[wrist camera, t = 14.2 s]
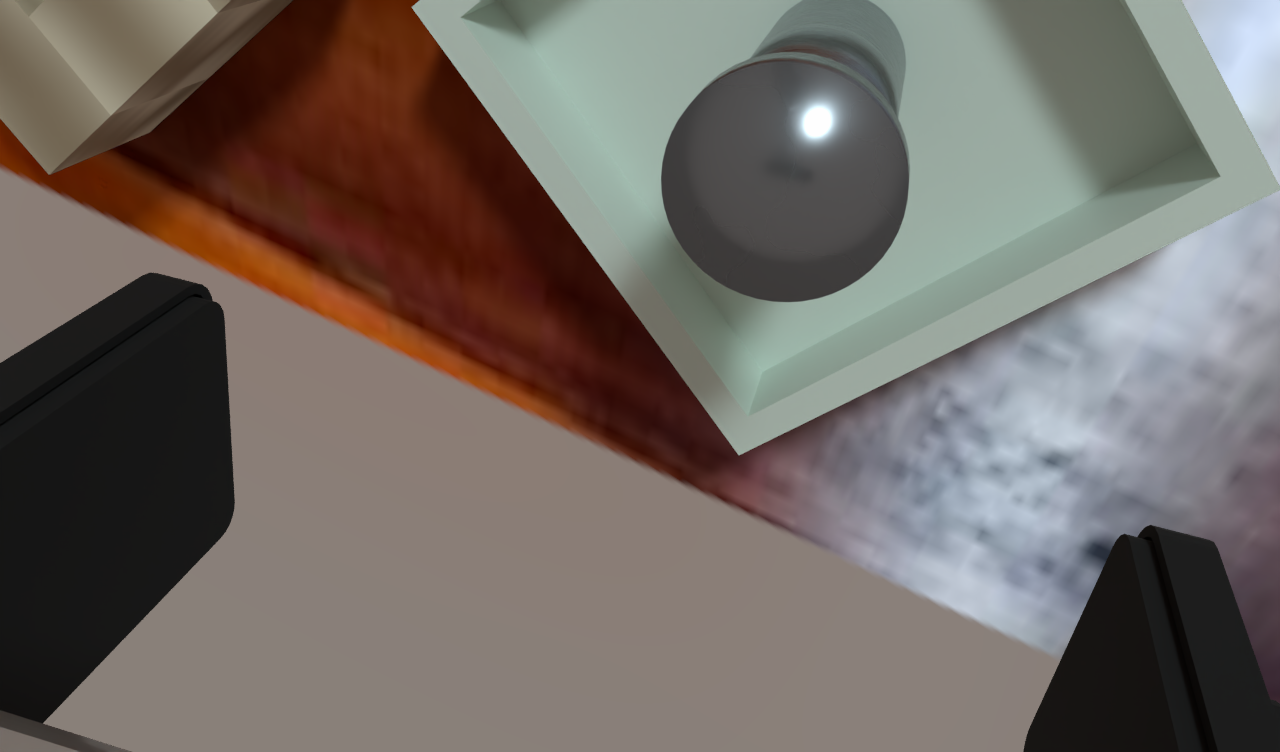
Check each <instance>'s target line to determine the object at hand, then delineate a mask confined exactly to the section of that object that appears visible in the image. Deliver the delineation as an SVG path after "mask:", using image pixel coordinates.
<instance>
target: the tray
mask: <svg viewBox="0 0 1280 752" xmlns="http://www.w3.org/2000/svg"><path fill="white" fill-rule="evenodd" d="M801 1H803V0H420V1H418V2H417V3H416V4H415V5H414V6H413V7H412V8H413V10H414V11H415V13H416V14H417V15H418V17H419V18H420V19H421V21H422V22H423V24H424V25H425V26H426V28H427V29H428V30H429V32H430V33H431V34H432V36H433V37H434V39H435V40H436V41H437V43H438V44H439V45H440V47H441V48H442V50H443V51H444V52H445V54H446V55H447V56H448V58H449V59H450V61H451V62H452V63H453V65H454V66H455V67H456V69H457V70H458V71H459V73H460V74H461V76H462V77H463V78H464V80H465V81H466V82H467V84H468V85H469V87H470V88H471V89H472V91H473V92H474V93H475V95H476V96H477V98H478V99H479V100H480V102H481V103H482V104H483V106H484V107H485V108H486V110H487V111H488V113H489V114H490V115H491V117H492V118H493V119H494V121H495V122H496V124H497V125H498V126H499V128H500V129H501V130H502V132H503V133H504V134H505V136H506V137H507V139H508V140H509V141H510V143H511V144H512V145H513V147H514V148H515V150H516V151H517V152H518V154H519V155H520V156H521V158H522V159H523V161H524V162H525V163H526V165H527V166H528V167H529V169H530V170H531V171H532V173H533V174H534V176H535V177H536V178H537V180H538V181H539V182H540V184H541V185H542V187H543V188H544V189H545V191H546V192H547V193H548V195H549V196H550V198H551V199H552V200H553V202H554V203H555V204H556V206H557V207H558V208H559V210H560V211H561V213H562V214H563V215H564V217H565V218H566V219H567V221H568V222H569V224H570V225H571V226H572V228H573V229H574V230H575V232H576V233H577V234H578V236H579V237H580V239H581V240H582V241H583V243H584V244H585V245H586V247H587V248H588V250H589V251H590V252H591V254H592V255H593V256H594V258H595V259H596V261H597V262H598V263H599V265H600V266H601V267H602V269H603V270H604V271H605V273H606V274H607V276H608V277H609V278H610V280H611V281H612V282H613V284H614V285H615V287H616V288H617V289H618V291H619V292H620V293H621V295H622V296H623V297H624V299H625V300H626V302H627V303H628V304H629V306H630V307H631V308H632V310H633V311H634V313H635V314H636V315H637V317H638V318H639V319H640V321H641V322H642V324H643V325H644V326H645V328H646V329H647V330H648V332H649V333H650V334H651V336H652V337H653V339H654V340H655V341H656V343H657V344H658V345H659V347H660V348H661V350H662V351H663V352H664V354H665V355H666V356H667V358H668V359H669V361H670V362H671V363H672V365H673V366H674V367H675V369H676V370H677V371H678V373H679V374H680V376H681V377H682V378H683V380H684V381H685V382H686V384H687V385H688V387H689V388H690V389H691V391H692V392H693V393H694V395H695V396H696V397H697V399H698V400H699V402H700V403H701V404H702V406H703V407H704V408H705V410H706V411H707V413H708V414H709V415H710V417H711V418H712V419H713V421H714V422H715V424H716V425H717V426H718V428H719V429H720V430H721V432H722V433H723V434H724V436H725V437H726V439H727V440H728V441H729V443H730V444H731V445H732V447H733V448H734V450H735V451H736V452H737V454H738V455H741V454H743V453H745V452H747V451H749V450H751V449H753V448H755V447H757V446H759V445H761V444H763V443H765V442H767V441H769V440H771V439H773V438H775V437H777V436H780V435H782V434H784V433H786V432H788V431H790V430H792V429H794V428H796V427H798V426H800V425H802V424H804V423H806V422H808V421H810V420H812V419H814V418H816V417H818V416H820V415H822V414H824V413H826V412H828V411H830V410H833V409H835V408H837V407H839V406H841V405H843V404H845V403H847V402H849V401H851V400H853V399H855V398H857V397H859V396H861V395H863V394H865V393H867V392H869V391H871V390H873V389H875V388H877V387H879V386H881V385H883V384H885V383H888V382H890V381H892V380H894V379H896V378H898V377H900V376H902V375H904V374H906V373H908V372H910V371H912V370H914V369H916V368H918V367H920V366H922V365H924V364H926V363H928V362H930V361H932V360H934V359H936V358H938V357H941V356H943V355H945V354H947V353H949V352H951V351H953V350H955V349H957V348H959V347H961V346H963V345H965V344H967V343H969V342H971V341H973V340H975V339H977V338H979V337H981V336H983V335H985V334H987V333H989V332H991V331H993V330H996V329H998V328H1000V327H1002V326H1004V325H1006V324H1008V323H1010V322H1012V321H1014V320H1016V319H1018V318H1020V317H1022V316H1024V315H1026V314H1028V313H1030V312H1032V311H1034V310H1036V309H1038V308H1040V307H1042V306H1044V305H1046V304H1048V303H1051V302H1053V301H1055V300H1057V299H1059V298H1061V297H1063V296H1065V295H1067V294H1069V293H1071V292H1073V291H1075V290H1077V289H1079V288H1081V287H1083V286H1085V285H1087V284H1089V283H1091V282H1093V281H1095V280H1097V279H1099V278H1101V277H1104V276H1106V275H1108V274H1110V273H1112V272H1114V271H1116V270H1118V269H1120V268H1122V267H1124V266H1126V265H1128V264H1130V263H1132V262H1134V261H1136V260H1138V259H1140V258H1142V257H1144V256H1146V255H1148V254H1150V253H1152V252H1154V251H1156V250H1159V249H1161V248H1163V247H1165V246H1167V245H1169V244H1171V243H1173V242H1175V241H1177V240H1179V239H1181V238H1183V237H1185V236H1187V235H1189V234H1191V233H1193V232H1195V231H1197V230H1199V229H1201V228H1203V227H1205V226H1207V225H1209V224H1212V223H1214V222H1216V221H1218V220H1220V219H1222V218H1224V217H1226V216H1228V215H1230V214H1232V213H1234V212H1236V211H1238V210H1240V209H1242V208H1244V207H1246V206H1248V205H1250V204H1252V203H1254V202H1256V201H1258V200H1260V199H1262V198H1264V197H1267V196H1269V195H1271V194H1273V193H1275V192H1277V191H1279V190H1280V186H1279V184H1278V182H1277V180H1276V179H1275V177H1274V175H1273V173H1272V171H1271V169H1270V167H1269V165H1268V163H1267V161H1266V160H1265V158H1264V156H1263V154H1262V152H1261V150H1260V148H1259V146H1258V144H1257V142H1256V141H1255V139H1254V137H1253V135H1252V133H1251V131H1250V129H1249V127H1248V125H1247V124H1246V122H1245V120H1244V118H1243V116H1242V114H1241V112H1240V110H1239V108H1238V106H1237V105H1236V103H1235V101H1234V99H1233V97H1232V95H1231V93H1230V91H1229V89H1228V87H1227V86H1226V84H1225V82H1224V80H1223V78H1222V76H1221V74H1220V72H1219V70H1218V69H1217V67H1216V65H1215V63H1214V61H1213V59H1212V57H1211V55H1210V53H1209V51H1208V50H1207V48H1206V46H1205V44H1204V42H1203V40H1202V38H1201V36H1200V34H1199V32H1198V31H1197V29H1196V27H1195V25H1194V23H1193V21H1192V19H1191V17H1190V15H1189V14H1188V12H1187V10H1186V8H1185V6H1184V4H1183V2H1182V0H869V1H870V2H872V3H874V4H875V5H877V6H878V7H879V8H880V9H882V10H883V11H884V12H885V13H886V14H887V15H888V16H889V17H890V19H891V20H892V21H893V23H894V24H895V26H896V27H897V29H898V31H899V33H900V36H901V38H902V41H903V44H904V49H905V56H906V71H905V78H904V85H903V91H902V98H901V104H900V111H899V117H898V119H899V121H900V123H901V126H902V129H903V132H904V134H905V137H906V141H907V146H908V151H909V160H910V178H909V190H908V200H907V205H906V210H905V215H904V218H903V221H902V224H901V226H900V229H899V232H898V234H897V235H896V237H895V239H894V241H893V243H892V245H891V246H890V248H889V249H888V251H887V252H886V254H885V255H884V256H883V258H882V259H881V260H880V261H879V262H878V263H877V264H876V265H875V266H874V267H873V269H871V270H870V271H869V272H868V273H867V274H865V275H864V276H863V277H862V278H861V279H859V280H858V281H856V282H854V283H853V284H851V285H850V286H848V287H846V288H844V289H842V290H840V291H838V292H836V293H833V294H831V295H827V296H824V297H821V298H818V299H813V300H808V301H801V302H772V301H766V300H761V299H756V298H753V297H749V296H746V295H743V294H740V293H738V292H736V291H733V290H731V289H729V288H727V287H725V286H724V285H722V284H720V283H719V282H717V281H715V280H714V279H713V278H711V277H710V276H709V275H707V274H706V273H705V272H703V271H702V270H701V269H700V268H699V267H698V266H697V265H696V264H695V263H694V262H693V261H692V260H691V258H690V257H689V256H688V255H687V253H686V252H685V251H684V250H683V248H682V247H681V245H680V243H679V242H678V240H677V239H676V237H675V235H674V233H673V231H672V229H671V226H670V224H669V222H668V219H667V215H666V212H665V209H664V204H663V198H662V191H661V172H662V162H663V157H664V153H665V149H666V145H667V143H668V140H669V137H670V135H671V132H672V130H673V129H674V127H675V125H676V123H677V121H678V119H679V118H680V117H681V115H682V114H683V112H684V111H685V110H686V108H687V107H688V106H689V104H690V103H691V102H692V101H693V100H694V98H695V97H696V96H697V95H698V94H699V93H700V92H701V90H702V89H703V88H704V87H705V86H706V85H707V84H708V83H709V82H710V81H712V80H713V79H714V78H716V77H717V76H718V75H719V74H721V73H722V72H724V71H725V70H727V69H729V68H730V67H732V66H734V65H736V64H738V63H740V62H743V61H745V60H748V59H750V58H751V56H752V55H753V53H754V52H755V51H756V49H757V48H758V47H759V45H760V44H761V43H762V41H763V40H764V39H765V37H766V36H767V35H768V33H769V32H770V31H771V29H772V28H773V27H774V25H775V24H776V23H777V21H778V20H779V19H780V18H781V17H782V16H783V15H784V14H785V12H787V11H788V10H789V9H790V8H792V7H793V6H794V5H796V4H797V3H799V2H801Z"/></svg>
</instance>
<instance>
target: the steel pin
mask: <svg viewBox="0 0 1280 752" xmlns="http://www.w3.org/2000/svg"><path fill="white" fill-rule="evenodd" d="M905 71H906V56H905V49H904V44H903V41H902V38H901V36H900V33H899V31H898V29H897V27H896V26H895V24H894V23H893V21H892V20H891V19H890V17H889V16H888V15H887V14H886V13H885V12H884V11H883V10H882V9H880V8H879V7H878V6H877V5H875V4H874V3H872V2H870V1H869V0H803V1H801V2H799V3H797V4H796V5H794V6H793V7H792V8H790V9H789V10H788V11H787V12H785V14H784V15H783V16H782V17H781V18H780V19H779V20H778V21H777V23H776V24H775V25H774V27H773V28H772V29H771V31H770V32H769V33H768V35H767V36H766V37H765V39H764V40H763V41H762V43H761V44H760V45H759V47H758V48H757V49H756V51H755V52H754V53H753V55H752V56H751V58H750V59H748V60H745V61H743V62H740V63H738V64H736V65H734V66H732V67H730V68H729V69H727V70H725V71H724V72H722V73H721V74H719V75H718V76H717V77H716V78H714V79H713V80H712V81H710V82H709V83H708V84H707V85H706V86H705V87H704V88H703V89H702V90H701V92H700V93H699V94H698V95H697V96H696V97H695V98H694V100H693V101H692V102H691V103H690V104H689V106H688V107H687V108H686V110H685V111H684V112H683V114H682V115H681V117H680V118H679V119H678V121H677V123H676V125H675V127H674V129H673V130H672V132H671V135H670V137H669V140H668V143H667V145H666V149H665V153H664V157H663V162H662V172H661V191H662V198H663V204H664V209H665V212H666V215H667V219H668V222H669V224H670V226H671V229H672V231H673V233H674V235H675V237H676V239H677V240H678V242H679V243H680V245H681V247H682V248H683V250H684V251H685V252H686V253H687V255H688V256H689V257H690V258H691V260H692V261H693V262H694V263H695V264H696V265H697V266H698V267H699V268H700V269H701V270H702V271H703V272H705V273H706V274H707V275H709V276H710V277H711V278H713V279H714V280H715V281H717V282H719V283H720V284H722V285H724V286H725V287H727V288H729V289H731V290H733V291H736V292H738V293H740V294H743V295H746V296H749V297H753V298H756V299H761V300H766V301H772V302H801V301H808V300H813V299H818V298H821V297H824V296H827V295H831V294H833V293H836V292H838V291H840V290H842V289H844V288H846V287H848V286H850V285H851V284H853V283H854V282H856V281H858V280H859V279H861V278H862V277H863V276H864V275H865V274H867V273H868V272H869V271H870V270H871V269H873V267H874V266H875V265H876V264H877V263H878V262H879V261H880V260H881V259H882V258H883V256H884V255H885V254H886V252H887V251H888V249H889V248H890V246H891V245H892V243H893V241H894V239H895V237H896V235H897V234H898V232H899V229H900V226H901V224H902V221H903V218H904V215H905V210H906V205H907V200H908V190H909V178H910V160H909V151H908V146H907V141H906V137H905V134H904V132H903V129H902V126H901V123H900V121H899V119H898V117H899V111H900V104H901V98H902V91H903V85H904V78H905Z"/></svg>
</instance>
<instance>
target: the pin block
mask: <svg viewBox="0 0 1280 752" xmlns="http://www.w3.org/2000/svg"><path fill="white" fill-rule="evenodd" d="M292 1H293V0H0V119H1V120H2V121H3V122H4V123H5V125H6V126H7V127H8V128H9V129H10V130H11V131H12V133H13V134H14V135H15V136H16V137H17V138H18V140H19V141H20V142H21V143H22V144H23V145H24V147H25V148H26V149H27V150H28V151H29V152H30V153H31V155H32V156H33V157H34V158H35V159H36V160H37V162H38V163H39V164H40V165H41V166H42V167H43V169H44V170H45V171H46V172H47V173H48V174H49V175H50V174H53V173H55V172H57V171H60V170H62V169H64V168H67V167H69V166H72V165H74V164H76V163H79V162H81V161H83V160H86V159H88V158H91V157H93V156H95V155H98V154H100V153H102V152H105V151H107V150H110V149H112V148H114V147H117V146H119V145H121V144H124V143H126V142H128V141H131V140H133V139H136V138H138V137H140V136H143V135H145V134H147V133H150V132H151V131H152V130H153V129H154V128H155V127H156V126H157V125H158V124H160V123H161V122H162V121H163V120H164V119H165V118H166V117H167V116H168V115H169V114H170V113H171V112H173V111H174V110H175V109H176V108H177V107H178V106H179V105H180V104H181V103H182V102H183V101H184V100H186V99H187V98H188V97H189V96H190V95H191V94H192V93H193V92H194V91H195V90H196V89H197V88H199V87H200V86H201V85H202V84H203V83H204V82H205V81H206V80H207V79H208V78H209V77H210V76H212V75H213V74H214V73H215V72H216V71H217V70H218V69H219V68H220V67H221V66H222V65H224V64H225V63H226V62H227V61H228V60H229V59H230V58H231V57H232V56H233V55H234V54H235V53H237V52H238V51H239V50H240V49H241V48H242V47H243V46H244V45H245V44H246V43H247V42H248V41H250V40H251V39H252V38H253V37H254V36H255V35H256V34H257V33H258V32H259V31H260V30H261V29H263V28H264V27H265V26H266V25H267V24H268V23H269V22H270V21H271V20H272V19H273V18H274V17H276V16H277V15H278V14H279V13H280V12H281V11H282V10H283V9H284V8H285V7H286V6H287V5H289V4H290V3H291V2H292Z"/></svg>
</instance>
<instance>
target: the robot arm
mask: <svg viewBox="0 0 1280 752" xmlns="http://www.w3.org/2000/svg"><path fill="white" fill-rule="evenodd" d="M227 375H228V374H227V356H226V340H225V321H224V313H223V310H222V308H221V306H220V305H219V304H218V303H217V302H213V301H212V296H211V294H210V292H209V290H208V289H207V288H206V287H204V286H203V285H201V284H197V283H193V282H189V281H185V280H182V279H178V278H173V277H170V276H166V275H162V274H158V273H148V274H145V275H143V276H141V277H139V278H138V279H136V280H135V281H133V282H131V283H130V284H128V285H127V286H125V287H123V288H122V289H120V290H118V291H117V292H115V293H113V294H112V295H110V296H108V297H107V298H105V299H104V300H102V301H100V302H99V303H98V304H96V305H94V306H92V307H91V308H89V309H88V310H86V311H84V312H82V313H81V314H79V315H78V316H76V317H74V318H73V319H71V320H70V321H68V322H66V323H65V324H63V325H61V326H60V327H58V328H57V329H55V330H54V331H52V332H50V333H48V334H47V335H45V336H44V337H42V338H40V339H39V340H37V341H36V342H34V343H32V344H31V345H29V346H27V347H26V348H24V349H22V350H21V351H20V352H18V353H16V354H14V355H13V356H11V357H10V358H8V359H6V360H5V361H3V362H1V363H0V752H131V751H128V750H125V749H121V748H118V747H115V746H112V745H108V744H105V743H102V742H99V741H96V740H93V739H90V738H86V737H83V736H80V735H77V734H74V733H71V732H67V731H64V730H61V729H58V728H55V727H52V726H48V725H45V724H43V722H44V721H45V720H46V719H47V718H48V717H49V716H50V715H51V714H52V713H53V712H54V711H55V710H56V709H57V708H58V707H59V706H60V705H61V704H62V703H63V702H64V701H65V700H66V698H67V697H68V696H69V695H70V694H71V693H72V692H73V691H74V690H75V689H76V688H77V687H78V686H79V685H80V684H81V683H82V682H83V681H84V680H85V679H86V678H87V677H88V676H89V675H90V673H91V672H92V671H93V670H94V669H95V668H96V667H97V666H98V665H99V664H100V663H101V662H102V661H103V660H104V659H105V658H106V657H107V656H108V655H109V654H110V653H111V652H112V651H113V650H114V649H115V647H116V646H117V645H118V644H119V643H120V642H121V641H122V640H123V639H124V638H125V637H126V636H127V635H128V634H129V633H130V632H131V631H132V630H133V629H134V628H135V627H136V625H138V624H139V622H140V621H141V620H142V619H143V618H144V617H145V616H146V615H147V614H148V613H149V612H150V611H151V610H152V609H153V608H154V607H155V606H156V605H157V604H158V603H159V602H160V601H161V600H162V598H163V597H164V596H165V595H166V594H167V593H168V592H169V591H170V590H171V589H172V588H173V587H174V586H175V585H176V584H177V583H178V582H179V581H180V580H181V579H182V578H183V576H185V575H186V574H187V573H188V571H189V570H190V569H191V568H192V567H193V566H194V565H195V564H196V563H197V562H198V561H199V560H200V559H201V558H202V557H203V556H204V555H205V554H206V553H207V552H208V551H209V550H210V549H211V548H212V546H213V545H214V544H215V543H216V542H217V541H218V540H219V539H220V538H221V537H222V536H223V534H224V533H225V532H226V530H227V528H228V526H229V524H230V522H231V519H232V516H233V512H234V503H235V502H234V501H235V500H234V482H233V464H232V446H231V429H230V410H229V393H228V376H227ZM1024 752H1280V704H1279V703H1278V702H1276V701H1274V700H1270V698H1269V695H1268V692H1267V689H1266V686H1265V683H1264V680H1263V677H1262V675H1261V672H1260V669H1259V666H1258V663H1257V660H1256V657H1255V654H1254V652H1253V649H1252V646H1251V643H1250V640H1249V637H1248V634H1247V631H1246V629H1245V626H1244V623H1243V620H1242V617H1241V614H1240V611H1239V608H1238V606H1237V603H1236V600H1235V597H1234V594H1233V591H1232V588H1231V585H1230V583H1229V580H1228V577H1227V574H1226V571H1225V568H1224V565H1223V562H1222V560H1221V557H1220V554H1219V551H1218V548H1217V547H1216V545H1215V543H1214V542H1212V541H1210V540H1207V539H1204V538H1200V537H1196V536H1192V535H1188V534H1184V533H1180V532H1176V531H1172V530H1168V529H1164V528H1160V527H1156V526H1152V525H1149V526H1147V527H1145V528H1144V529H1143V530H1142V531H1141V532H1140V534H1139V535H1138V537H1134V536H1130V535H1126V534H1123V535H1121V536H1120V537H1119V538H1118V539H1117V541H1116V542H1115V544H1114V546H1113V548H1112V550H1111V552H1110V554H1109V557H1108V559H1107V561H1106V563H1105V565H1104V567H1103V570H1102V572H1101V574H1100V576H1099V578H1098V580H1097V583H1096V585H1095V587H1094V589H1093V591H1092V593H1091V596H1090V598H1089V600H1088V602H1087V604H1086V606H1085V609H1084V611H1083V613H1082V615H1081V617H1080V620H1079V622H1078V624H1077V626H1076V628H1075V630H1074V633H1073V635H1072V637H1071V639H1070V641H1069V643H1068V646H1067V648H1066V650H1065V652H1064V654H1063V656H1062V659H1061V661H1060V663H1059V665H1058V667H1057V669H1056V672H1055V674H1054V676H1053V678H1052V680H1051V683H1050V685H1049V687H1048V689H1047V691H1046V693H1045V696H1044V698H1043V700H1042V702H1041V704H1040V706H1039V708H1038V711H1037V713H1036V715H1035V717H1034V719H1033V722H1032V724H1031V726H1030V728H1029V731H1028V734H1027V737H1026V741H1025V746H1024Z"/></svg>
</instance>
